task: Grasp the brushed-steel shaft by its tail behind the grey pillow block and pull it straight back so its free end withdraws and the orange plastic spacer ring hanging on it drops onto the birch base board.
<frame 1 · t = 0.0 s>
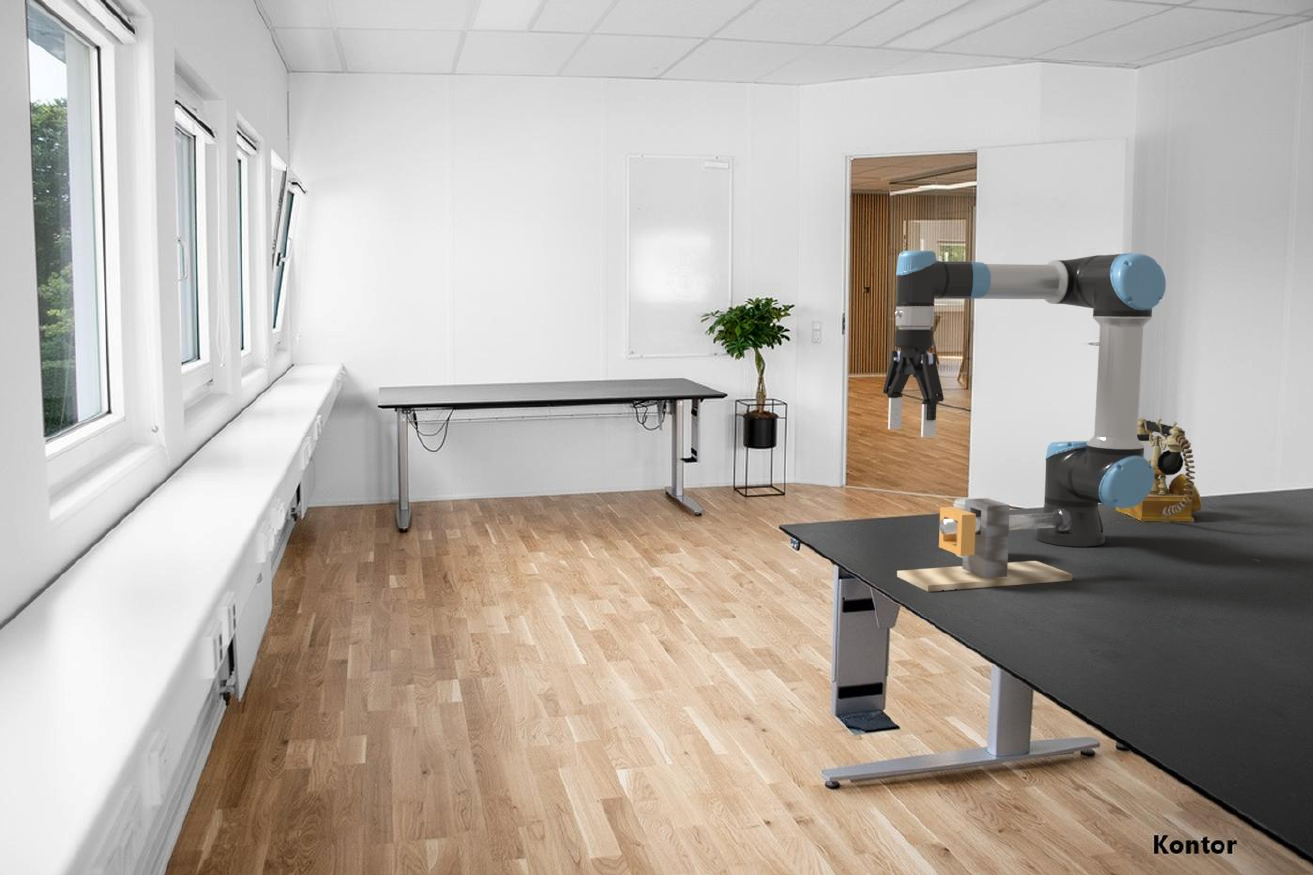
hand: (910, 432, 227), 28 cm above the table, fingers open, 13 cm apart
bearing fixture: (984, 578, 221), on the table
coffee cup: (973, 556, 241), on the table
shaft: (1005, 522, 221), point 11 cm above the table, slide at 0.0 cm, touching spacer
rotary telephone: (1169, 520, 281), on the table
spacer: (956, 550, 218), point 6 cm above the table, touching shaft
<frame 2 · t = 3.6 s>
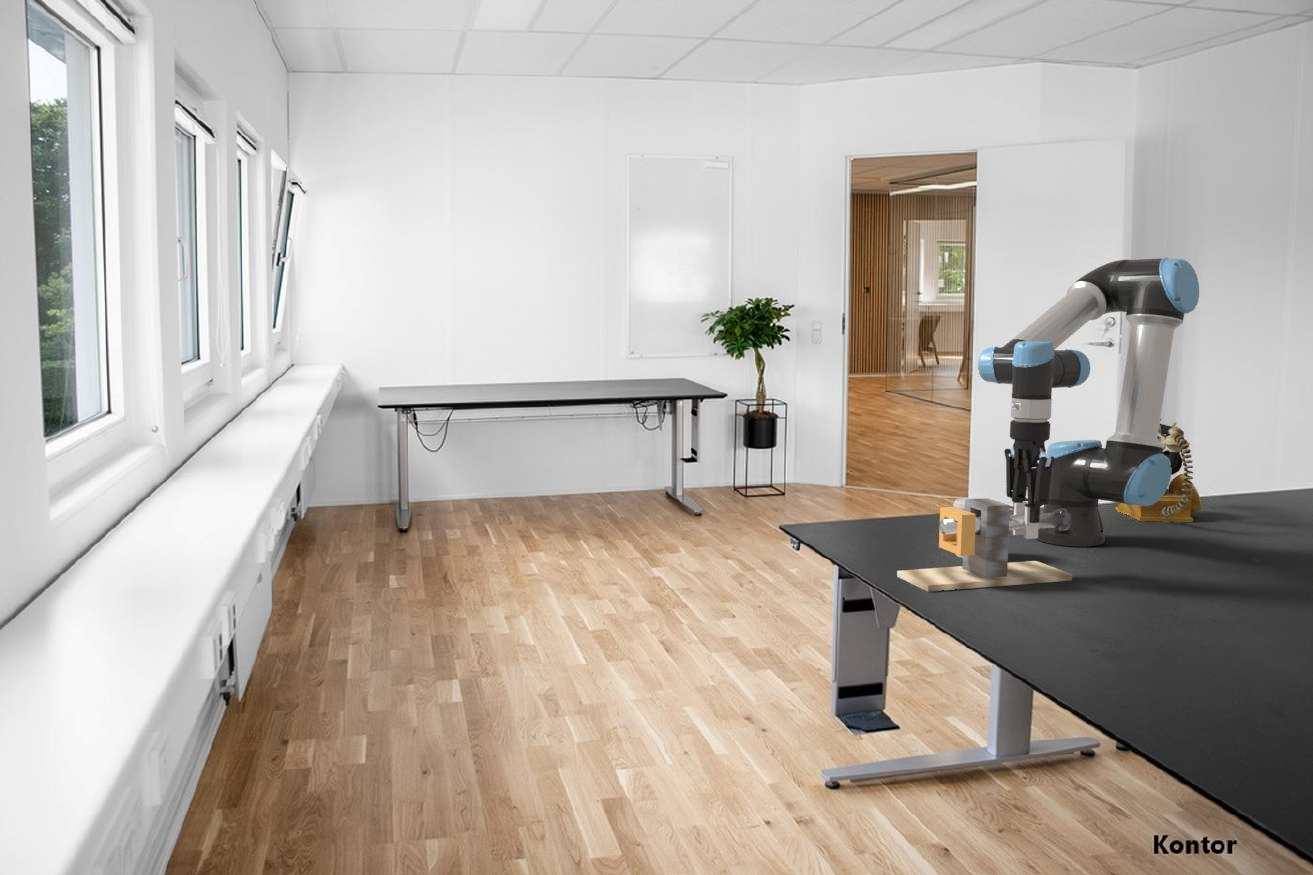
hand: (1025, 536, 222), 8 cm above the table, fingers closed on shaft, 3 cm apart
shaft: (1005, 522, 221), point 11 cm above the table, slide at 0.0 cm, touching gripper, spacer
everything else where it was.
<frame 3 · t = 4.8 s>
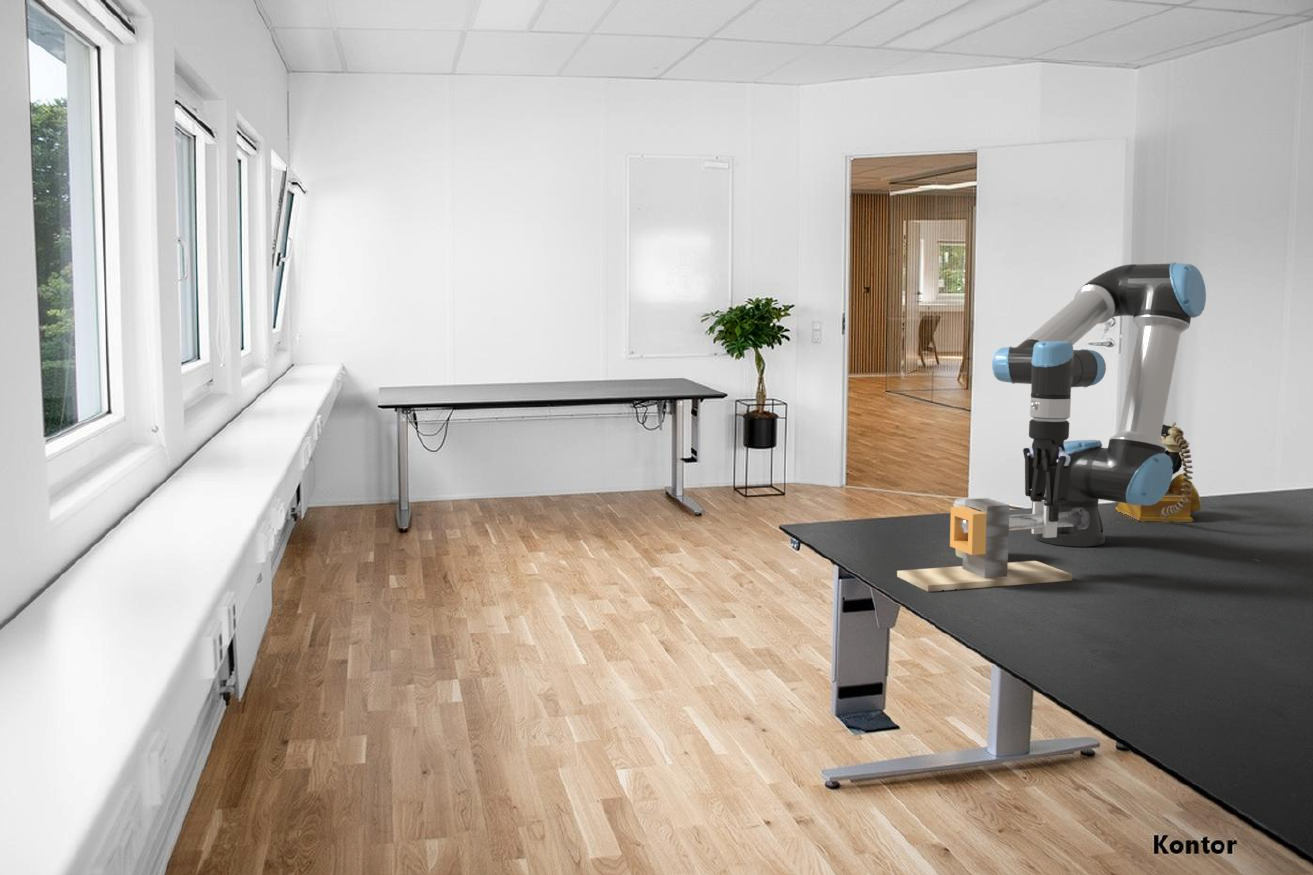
hand: (1043, 534, 224), 8 cm above the table, fingers closed on shaft, 3 cm apart
shaft: (1024, 521, 222), point 11 cm above the table, slide at 4.3 cm, touching gripper, spacer
spacer: (967, 550, 219), point 6 cm above the table, touching shaft
everything else where it was.
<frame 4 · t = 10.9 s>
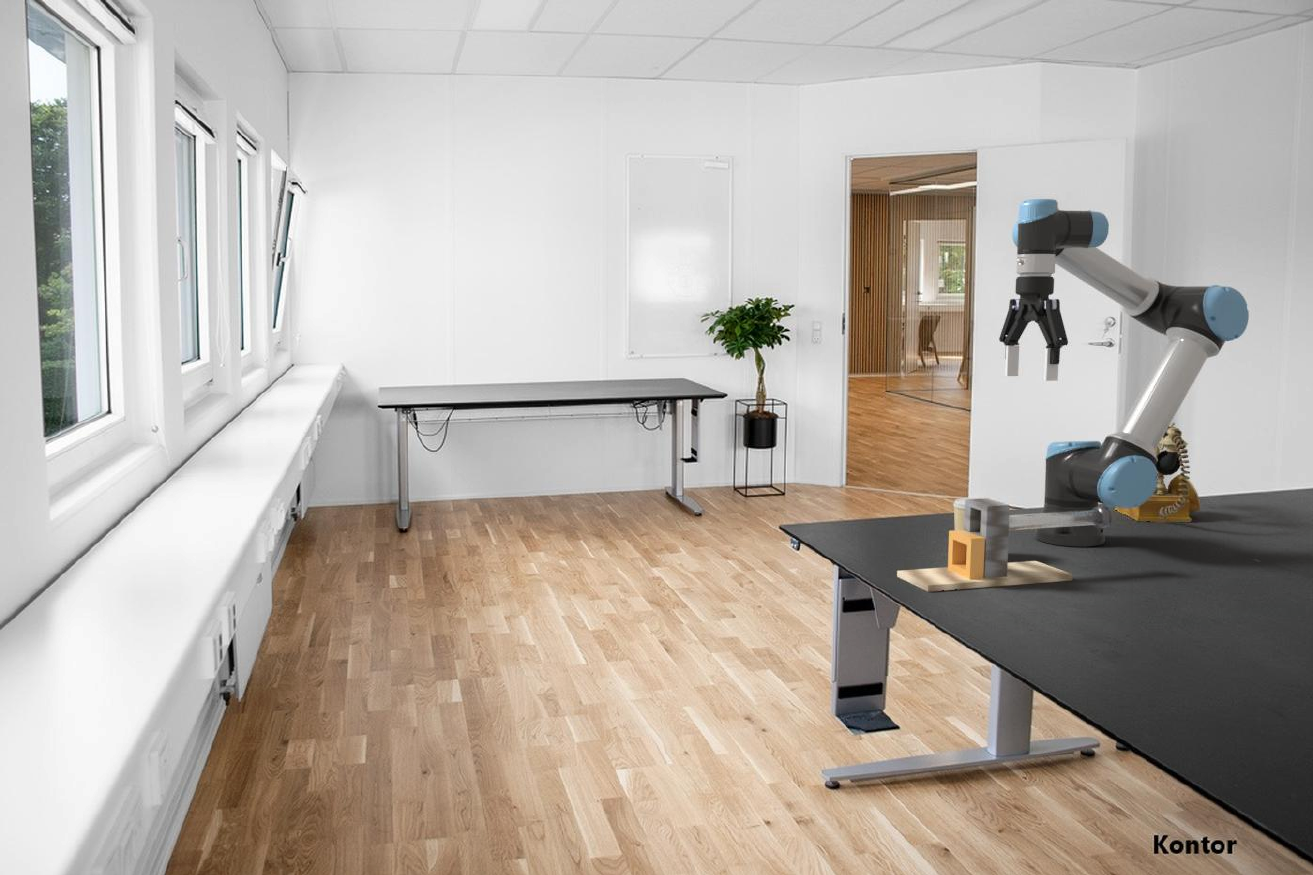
hand: (1030, 378, 232), 39 cm above the table, fingers open, 13 cm apart
shaft: (1046, 520, 223), point 11 cm above the table, slide at 9.4 cm
spacer: (965, 574, 220), point 1 cm above the table, touching bearing fixture
everything else where it was.
at the end: shaft slide at 9.4 cm; spacer point 1.2 cm above the table; spacer touching bearing fixture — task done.
